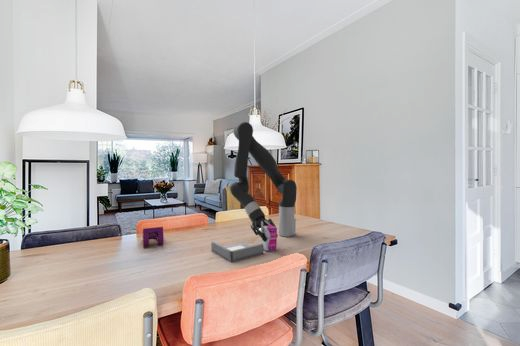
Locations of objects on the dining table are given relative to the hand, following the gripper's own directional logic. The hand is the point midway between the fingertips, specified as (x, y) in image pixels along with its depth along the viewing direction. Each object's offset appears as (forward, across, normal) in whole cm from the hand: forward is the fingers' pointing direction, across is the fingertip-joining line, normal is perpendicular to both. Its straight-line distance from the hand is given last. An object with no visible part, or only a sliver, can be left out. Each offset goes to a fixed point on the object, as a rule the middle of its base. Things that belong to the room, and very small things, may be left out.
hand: (271, 238), depth 129 cm
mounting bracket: (-34, -34, +43) cm, 65 cm away
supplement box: (+3, 0, +5) cm, 6 cm away
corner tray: (-3, -14, +11) cm, 18 cm away
